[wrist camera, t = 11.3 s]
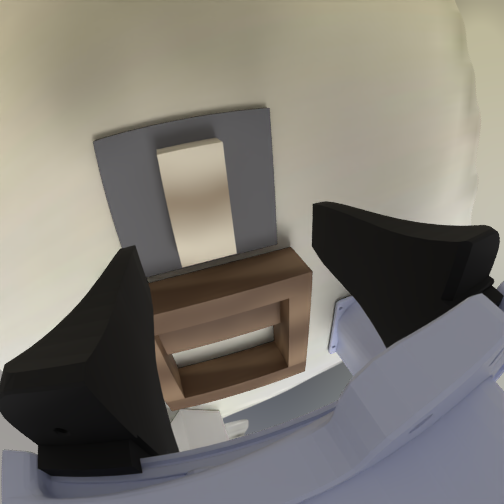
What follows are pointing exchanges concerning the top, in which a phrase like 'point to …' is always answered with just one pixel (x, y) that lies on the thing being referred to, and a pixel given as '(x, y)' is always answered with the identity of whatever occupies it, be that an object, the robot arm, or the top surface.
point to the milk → (198, 429)
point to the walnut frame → (232, 325)
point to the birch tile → (198, 200)
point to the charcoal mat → (152, 192)
